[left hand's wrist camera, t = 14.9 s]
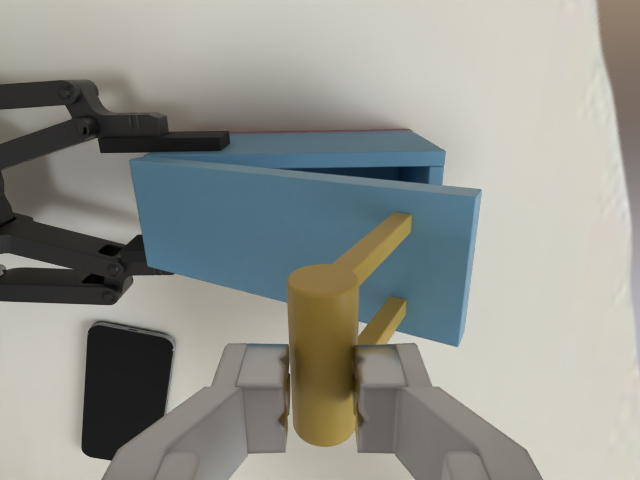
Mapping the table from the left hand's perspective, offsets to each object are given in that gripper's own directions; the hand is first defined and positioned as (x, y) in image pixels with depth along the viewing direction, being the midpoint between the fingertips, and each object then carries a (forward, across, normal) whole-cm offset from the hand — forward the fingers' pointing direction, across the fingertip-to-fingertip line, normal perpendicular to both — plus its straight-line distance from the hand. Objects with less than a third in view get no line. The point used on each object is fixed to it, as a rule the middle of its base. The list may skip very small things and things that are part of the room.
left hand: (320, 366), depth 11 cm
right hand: (+16, +5, 0) cm, 17 cm away
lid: (+10, +2, 0) cm, 10 cm away
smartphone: (+23, +18, +21) cm, 35 cm away
